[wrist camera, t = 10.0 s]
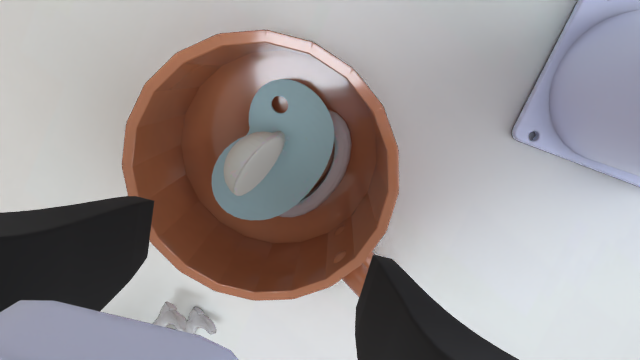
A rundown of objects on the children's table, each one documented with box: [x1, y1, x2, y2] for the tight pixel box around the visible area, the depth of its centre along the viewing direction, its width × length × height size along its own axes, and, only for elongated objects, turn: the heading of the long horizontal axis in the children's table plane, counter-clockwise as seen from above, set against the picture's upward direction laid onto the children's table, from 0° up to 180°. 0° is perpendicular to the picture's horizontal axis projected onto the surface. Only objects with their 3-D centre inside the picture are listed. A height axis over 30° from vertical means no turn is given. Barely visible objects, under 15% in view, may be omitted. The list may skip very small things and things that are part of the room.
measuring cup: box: [122, 30, 399, 301], centre depth 19 cm, size 15×11×6 cm
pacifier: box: [212, 79, 352, 220], centre depth 17 cm, size 7×6×6 cm
